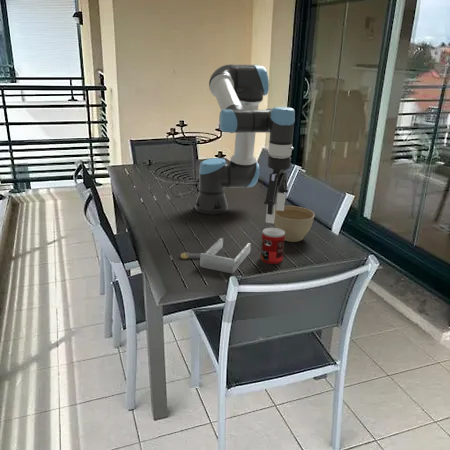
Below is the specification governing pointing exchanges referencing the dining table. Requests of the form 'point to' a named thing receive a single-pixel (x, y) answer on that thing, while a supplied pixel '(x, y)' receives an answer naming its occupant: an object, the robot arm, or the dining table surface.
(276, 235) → the canned food
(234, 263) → the channel
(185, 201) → the dining table surface
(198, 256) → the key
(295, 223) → the planter bowl
